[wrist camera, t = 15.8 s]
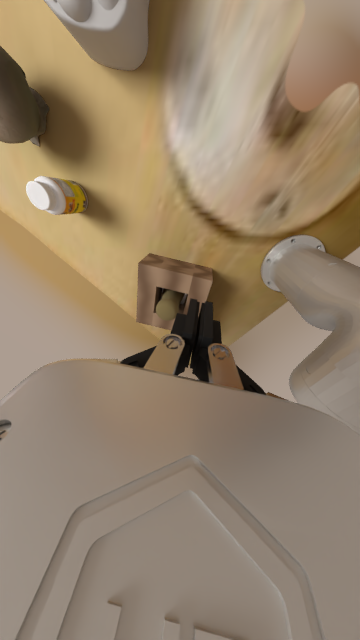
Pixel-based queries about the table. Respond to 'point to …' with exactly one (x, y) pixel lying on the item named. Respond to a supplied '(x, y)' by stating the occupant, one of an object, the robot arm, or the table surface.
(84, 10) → the white egg tray
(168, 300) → the olive pear shape
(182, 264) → the brown square frame
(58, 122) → the table surface
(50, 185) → the supplement bottle
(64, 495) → the robot arm
